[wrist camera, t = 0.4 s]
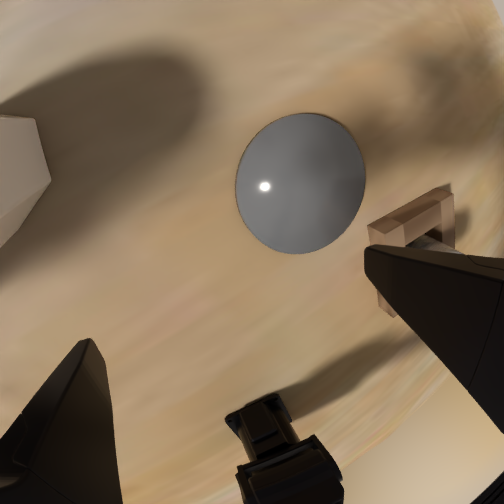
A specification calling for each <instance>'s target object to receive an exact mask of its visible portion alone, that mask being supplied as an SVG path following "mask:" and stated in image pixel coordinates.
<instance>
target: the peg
mask: <svg viewBox="0 0 504 504" xmlns="http://www.w3.org/2000/svg"><path fill="white" fill-rule="evenodd" d="M405 247H407V248H416V249H424V250H433V251H441V252H449V253H458V254H463V253H461V252H459V251H457V250H455V249H453V248H451V247H449V246H447V245H446V244H444V243H442V242H440V241H438V240H436V239H434V238H432V237H430V236H427V235H425V234H423V235H421V236H419V237H418V238H416V239H415V240H413V241H412V242H410V243H408V244H407V245H405Z"/></svg>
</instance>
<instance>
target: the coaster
mask: <svg viewBox="0 0 504 504" xmlns="http://www.w3.org/2000/svg"><path fill="white" fill-rule="evenodd" d="M364 188H365V169H364V163H363V159H362V156H361V153H360V151H359V148H358V146H357V144H356V143H355V141H354V139H353V138H352V137H351V135H350V134H349V133H348V132H347V131H346V130H345V129H344V128H343V127H342V126H340V125H339V124H338V123H336V122H334V121H333V120H331V119H329V118H326V117H323V116H320V115H315V114H294V115H289V116H285V117H282V118H280V119H277V120H275V121H273V122H272V123H270V124H268V125H267V126H265V127H264V128H263V129H262V130H261V131H259V132H258V133H257V134H256V136H255V137H254V138H253V139H252V140H251V142H250V143H249V144H248V146H247V147H246V149H245V151H244V153H243V155H242V157H241V160H240V162H239V165H238V169H237V173H236V181H235V196H236V202H237V206H238V210H239V213H240V215H241V217H242V219H243V222H244V223H245V225H246V226H247V228H248V229H249V230H250V232H251V233H252V234H253V235H254V236H255V237H256V238H257V239H258V240H259V241H261V242H262V243H263V244H264V245H266V246H268V247H269V248H271V249H274V250H276V251H279V252H283V253H287V254H304V253H310V252H313V251H316V250H319V249H321V248H323V247H325V246H327V245H329V244H330V243H332V242H333V241H334V240H336V239H337V238H338V237H339V236H340V235H341V234H342V233H343V232H344V231H345V230H346V229H347V228H348V227H349V225H350V224H351V222H352V221H353V219H354V218H355V216H356V214H357V212H358V210H359V207H360V205H361V201H362V198H363V193H364Z"/></svg>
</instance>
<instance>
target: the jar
mask: <svg viewBox="0 0 504 504" xmlns="http://www.w3.org/2000/svg"><path fill="white" fill-rule="evenodd" d="M50 183H51V176H50V173H49V170H48V167H47V163H46V160H45V156H44V153H43V149H42V145H41V142H40V138H39V134H38V130H37V126H36V121H35V119H33V118H28V117H20V116H11V115H3V114H0V248H1V247H2V246H3V245H4V244H5V243H6V242H7V241H8V240H9V239H10V238H11V237H12V236H13V235H14V234H15V233H16V232H17V231H18V230H19V228H20V227H21V225H22V223H23V222H24V220H25V219H26V217H27V216H28V214H29V213H30V211H31V210H32V208H33V207H34V205H35V204H36V202H37V201H38V199H39V198H40V197H41V195H42V194H43V192H44V191H45V190H46V188H47V187H48V185H49V184H50Z"/></svg>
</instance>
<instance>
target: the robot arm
mask: <svg viewBox="0 0 504 504" xmlns="http://www.w3.org/2000/svg"><path fill="white" fill-rule="evenodd" d="M364 270H365V274H366V276H367V277H368V279H369V280H370V281H371V282H372V284H373V285H374V286H375V287H376V289H377V290H378V291H379V293H380V294H381V295H382V296H383V298H384V299H385V300H386V301H387V303H388V304H389V305H390V306H391V307H392V309H393V310H394V311H395V312H396V313H397V314H398V315H399V316H400V317H401V318H402V319H403V320H404V321H405V322H406V323H407V324H408V325H409V326H410V328H411V329H412V330H413V331H414V332H415V333H416V334H417V335H418V336H419V337H420V338H421V339H422V340H423V342H424V343H425V344H426V345H427V346H428V347H429V348H430V349H431V350H432V351H433V352H434V354H435V355H436V356H437V357H438V358H439V359H440V360H441V361H442V362H443V364H444V365H445V366H446V367H447V368H448V369H449V370H450V371H451V373H452V374H453V375H454V376H455V377H456V378H457V379H458V381H459V382H460V383H461V384H462V385H463V386H464V387H465V389H466V390H468V392H469V394H470V395H471V396H472V397H473V398H474V399H475V401H476V402H477V403H478V404H479V405H480V407H481V408H482V409H483V410H484V411H485V412H486V414H487V415H488V416H489V417H490V419H491V420H492V421H493V422H494V424H495V425H496V426H497V427H498V429H499V430H500V431H501V432H502V433H503V434H504V258H492V257H483V256H474V255H465V254H458V253H449V252H441V251H433V250H424V249H416V248H407V247H398V246H389V245H380V244H374V245H371V246H368V247H366V248H365V250H364ZM21 413H22V414H19V416H18V417H17V418H16V420H15V421H14V422H13V424H12V425H11V426H10V428H9V429H8V430H7V431H6V433H5V434H4V435H3V436H2V438H1V439H0V504H123V501H122V495H121V488H120V481H119V474H118V466H117V458H116V448H115V438H114V425H113V411H112V403H111V396H110V390H109V384H108V377H107V370H106V364H105V361H104V358H103V357H102V355H101V353H100V351H99V350H98V348H97V346H96V344H95V342H94V341H93V340H92V339H91V338H87V339H84V340H80V341H79V342H78V343H77V344H76V345H75V346H74V347H73V349H72V350H71V351H70V352H69V353H68V354H67V356H66V357H65V358H64V359H63V360H62V362H61V363H60V364H59V365H58V366H57V368H56V369H55V370H54V371H53V373H52V374H51V375H50V376H49V377H48V379H47V380H46V381H45V382H44V384H43V385H42V386H41V387H40V389H39V390H38V391H37V393H36V394H35V395H34V396H33V398H32V399H31V400H30V401H29V403H28V404H27V405H26V407H25V408H24V409H23V411H22V412H21ZM225 422H226V424H227V425H228V426H229V427H230V428H231V429H232V431H233V432H234V433H235V434H236V435H237V436H238V437H239V439H240V440H241V441H242V443H243V446H244V448H245V451H246V453H247V455H248V458H249V460H250V462H249V463H247V464H244V465H239V466H237V469H238V473H237V474H236V475H235V476H236V479H237V481H238V484H239V487H240V490H241V495H242V499H243V503H244V504H343V500H344V488H343V486H342V485H341V483H340V481H342V480H343V479H342V475H341V472H340V470H339V468H338V466H337V464H336V462H335V461H334V459H333V458H332V456H331V455H330V454H329V452H328V451H327V450H326V448H325V447H324V446H323V445H322V443H321V442H320V441H319V439H318V438H317V437H316V436H315V434H313V435H311V436H310V437H309V438H307V439H305V440H302V441H300V439H299V438H298V436H297V434H296V433H295V431H294V429H293V427H292V426H291V424H290V423H291V422H292V419H291V417H290V415H289V413H288V411H287V410H286V408H285V406H284V404H283V402H282V400H281V398H280V396H279V395H278V394H273V395H271V396H269V397H267V398H265V399H263V400H261V401H259V402H257V403H255V404H253V405H251V406H248V407H246V408H244V409H242V410H240V411H238V412H236V413H233V414H231V415H229V416H227V417H226V418H225ZM470 504H504V472H502V473H501V474H500V476H499V477H497V479H496V480H495V481H494V482H493V483H492V484H491V485H490V486H489V487H488V488H486V489H485V490H484V491H483V492H482V493H481V494H480V495H479V496H478V497H477V498H476V499H475V500H474V501H473V502H471V503H470Z"/></svg>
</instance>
